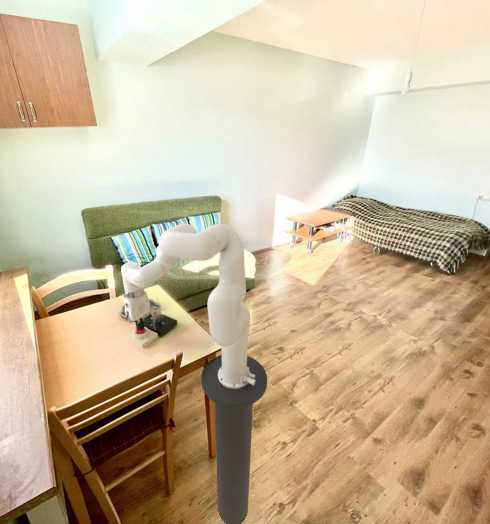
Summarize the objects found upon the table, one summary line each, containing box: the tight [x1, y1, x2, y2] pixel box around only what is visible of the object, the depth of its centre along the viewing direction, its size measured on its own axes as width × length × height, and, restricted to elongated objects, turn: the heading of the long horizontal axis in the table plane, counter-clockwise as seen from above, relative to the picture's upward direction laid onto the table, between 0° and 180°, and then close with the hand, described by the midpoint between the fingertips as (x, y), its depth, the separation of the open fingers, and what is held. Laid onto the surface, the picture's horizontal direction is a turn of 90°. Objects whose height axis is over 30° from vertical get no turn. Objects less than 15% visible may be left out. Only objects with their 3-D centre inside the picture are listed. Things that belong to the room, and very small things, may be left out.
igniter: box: [124, 327, 159, 349], centre depth 122 cm, size 11×9×4 cm
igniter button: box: [135, 328, 145, 334], centre depth 121 cm, size 4×4×2 cm
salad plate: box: [119, 298, 161, 320], centre depth 143 cm, size 19×18×5 cm
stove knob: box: [151, 308, 162, 324], centre depth 130 cm, size 4×4×5 cm
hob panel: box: [143, 313, 178, 338], centre depth 132 cm, size 15×11×3 cm
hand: (140, 328), depth 121 cm, fingers closed
